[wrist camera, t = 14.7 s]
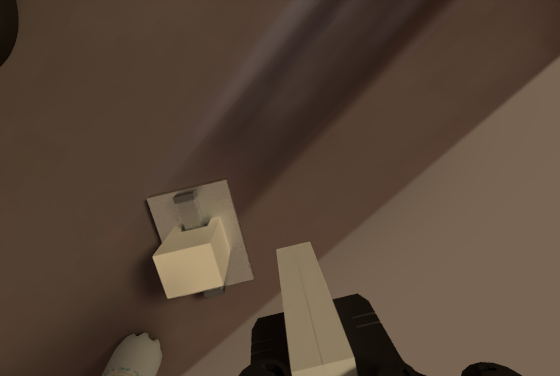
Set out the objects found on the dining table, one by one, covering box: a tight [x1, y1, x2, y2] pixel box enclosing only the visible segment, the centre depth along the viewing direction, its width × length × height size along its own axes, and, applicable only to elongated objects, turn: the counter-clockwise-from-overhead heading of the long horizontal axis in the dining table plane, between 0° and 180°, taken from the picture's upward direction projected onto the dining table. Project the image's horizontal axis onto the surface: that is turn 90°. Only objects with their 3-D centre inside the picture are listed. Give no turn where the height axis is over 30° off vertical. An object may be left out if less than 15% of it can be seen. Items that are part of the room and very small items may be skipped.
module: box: [152, 217, 230, 299], centre depth 36 cm, size 6×5×8 cm
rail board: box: [147, 178, 254, 298], centre depth 39 cm, size 10×14×3 cm
